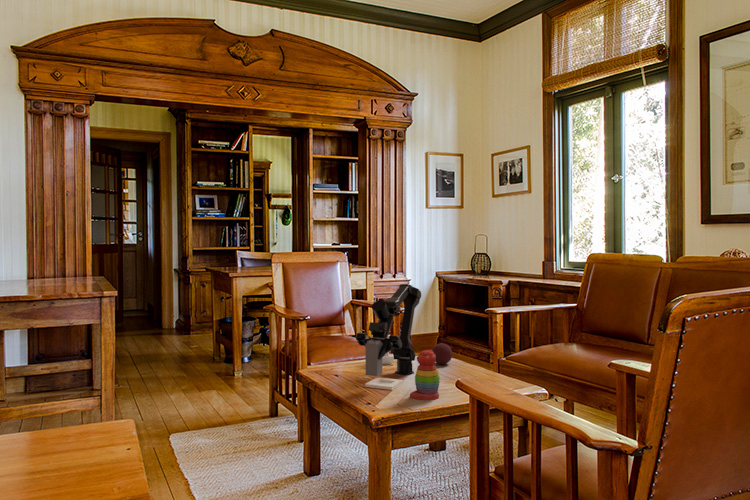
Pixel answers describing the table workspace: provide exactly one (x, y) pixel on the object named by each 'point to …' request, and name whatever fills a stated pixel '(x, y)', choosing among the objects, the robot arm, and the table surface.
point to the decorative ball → (442, 353)
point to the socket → (384, 383)
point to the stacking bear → (426, 377)
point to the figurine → (387, 357)
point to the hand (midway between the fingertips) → (372, 358)
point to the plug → (373, 358)
